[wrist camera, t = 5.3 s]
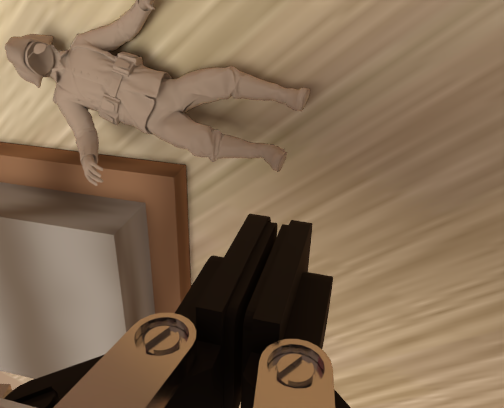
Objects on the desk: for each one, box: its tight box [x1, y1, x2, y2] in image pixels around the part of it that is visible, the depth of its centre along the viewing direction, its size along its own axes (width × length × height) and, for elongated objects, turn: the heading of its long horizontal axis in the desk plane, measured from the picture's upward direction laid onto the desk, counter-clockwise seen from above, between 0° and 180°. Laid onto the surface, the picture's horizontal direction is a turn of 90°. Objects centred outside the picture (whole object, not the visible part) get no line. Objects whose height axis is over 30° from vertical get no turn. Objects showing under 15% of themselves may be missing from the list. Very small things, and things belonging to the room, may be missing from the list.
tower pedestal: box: [0, 142, 191, 379], centre depth 24 cm, size 13×13×4 cm
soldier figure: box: [5, 0, 310, 186], centre depth 19 cm, size 8×5×12 cm
